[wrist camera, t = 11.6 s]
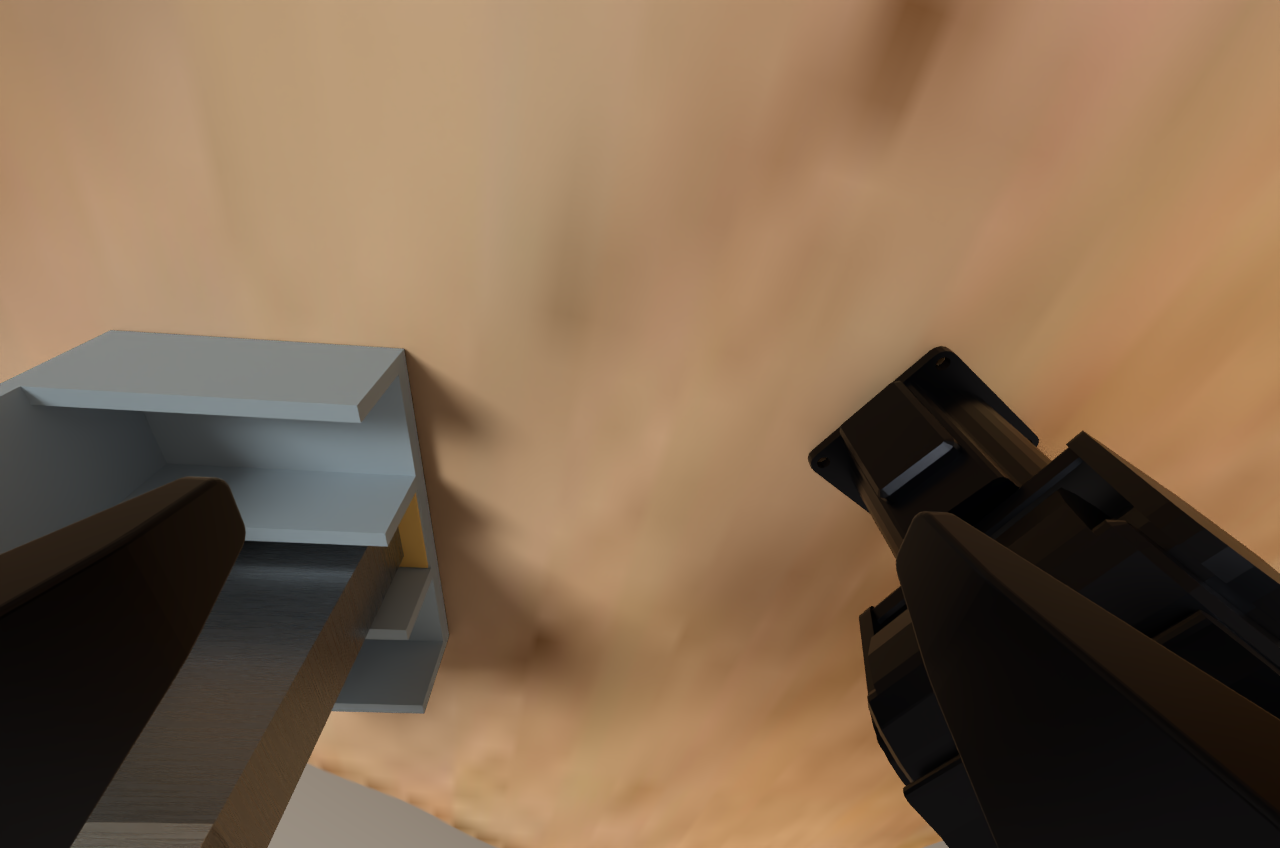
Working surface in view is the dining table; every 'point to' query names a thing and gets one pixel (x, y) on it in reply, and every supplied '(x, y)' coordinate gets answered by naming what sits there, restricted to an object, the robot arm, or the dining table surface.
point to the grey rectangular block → (247, 700)
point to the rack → (242, 464)
